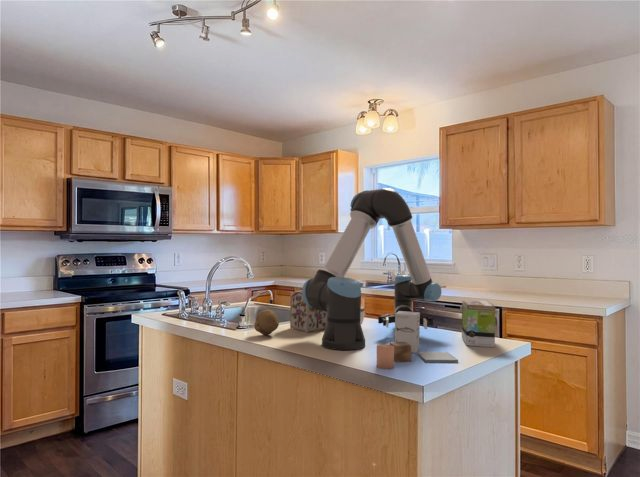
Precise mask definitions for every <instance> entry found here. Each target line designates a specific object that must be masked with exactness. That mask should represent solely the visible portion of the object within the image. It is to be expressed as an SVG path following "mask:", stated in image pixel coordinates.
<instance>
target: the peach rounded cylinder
mask: <svg viewBox="0 0 640 477" xmlns="http://www.w3.org/2000/svg"><path fill="white" fill-rule="evenodd" d="M376 367H377V368H378V369H381V370H382V369H383V370H391V369H392V370H393V369H394V368H395V362H394V346H393V345H390V343H389V344H388V343H379V344H377V345H376Z"/></svg>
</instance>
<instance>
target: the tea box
mask: <svg viewBox="0 0 640 477" xmlns="http://www.w3.org/2000/svg"><path fill="white" fill-rule="evenodd" d="M461 305H462V306H461V307H462V308H461V310H462V312H461V339H462V340H463V342H464V343H465V345H466V346H468V347H469V346H470V347H483V348H484V347H487V348H494V347H495V343H496V342H495V341H496V305H495V304H493V303H491V302H490V301H488V300H487V301H486V300H465V299H464V300H462V304H461Z"/></svg>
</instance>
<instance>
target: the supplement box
mask: <svg viewBox="0 0 640 477" xmlns="http://www.w3.org/2000/svg"><path fill="white" fill-rule="evenodd" d="M420 315H421V312H418V311H413V312H407V311H398V312H397V313H395V323H394V342H406V343H408V344H410V345H411V354H416V353H417V352H419V349H420V325H421V324H420Z"/></svg>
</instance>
